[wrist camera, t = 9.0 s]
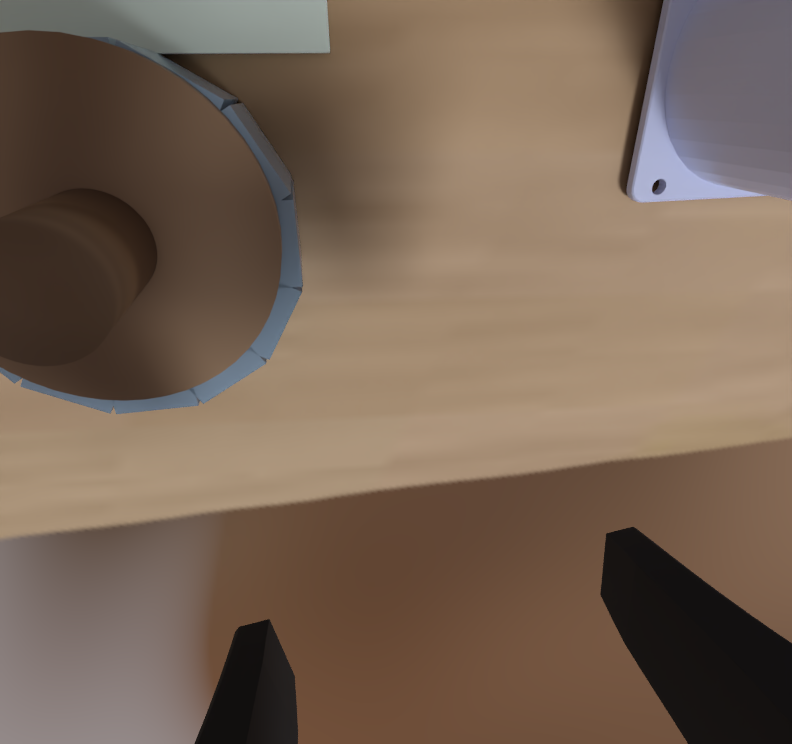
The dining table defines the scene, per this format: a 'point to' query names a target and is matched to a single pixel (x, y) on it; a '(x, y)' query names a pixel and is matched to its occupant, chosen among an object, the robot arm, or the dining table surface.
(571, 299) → the dining table surface
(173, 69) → the bowl
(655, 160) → the robot arm
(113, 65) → the lid
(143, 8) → the mat
